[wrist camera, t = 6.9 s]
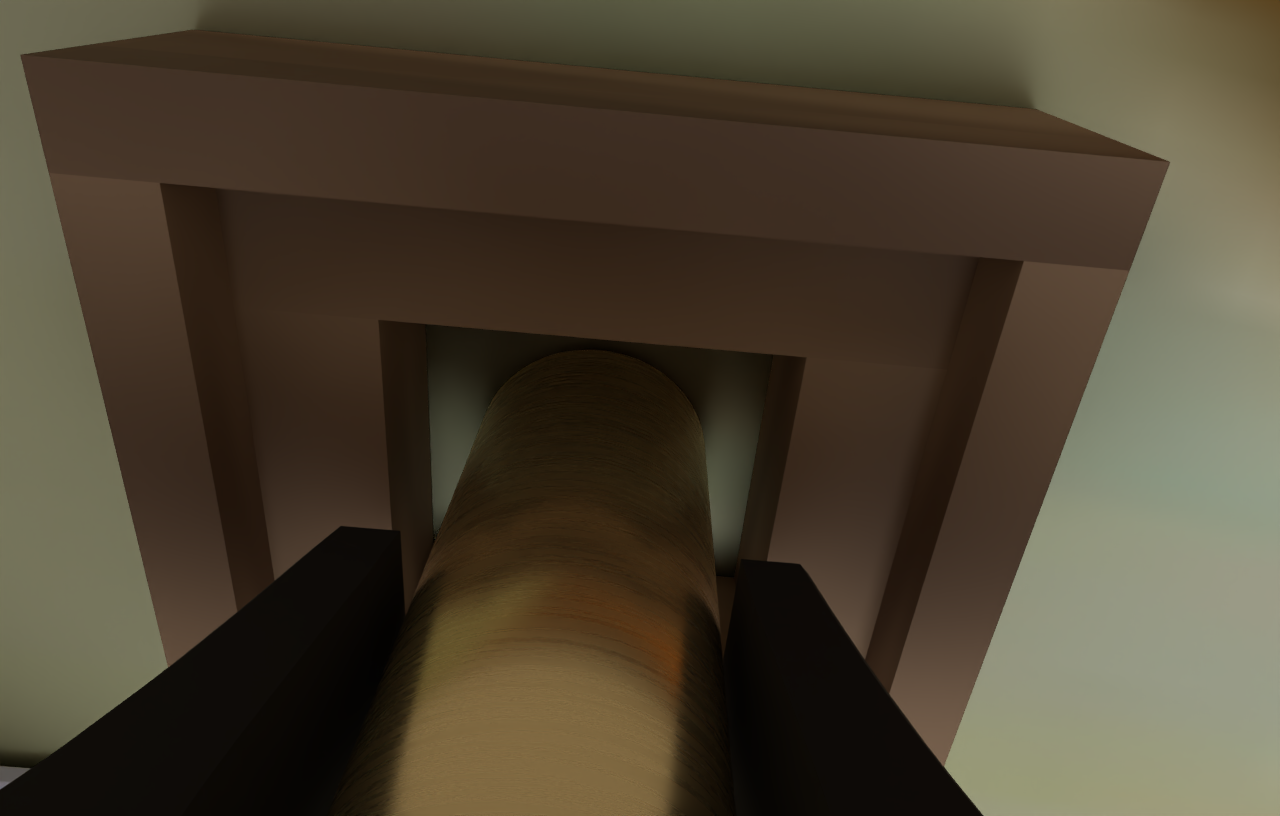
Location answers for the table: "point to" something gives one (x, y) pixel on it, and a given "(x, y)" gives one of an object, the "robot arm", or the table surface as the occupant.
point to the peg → (561, 617)
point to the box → (583, 303)
